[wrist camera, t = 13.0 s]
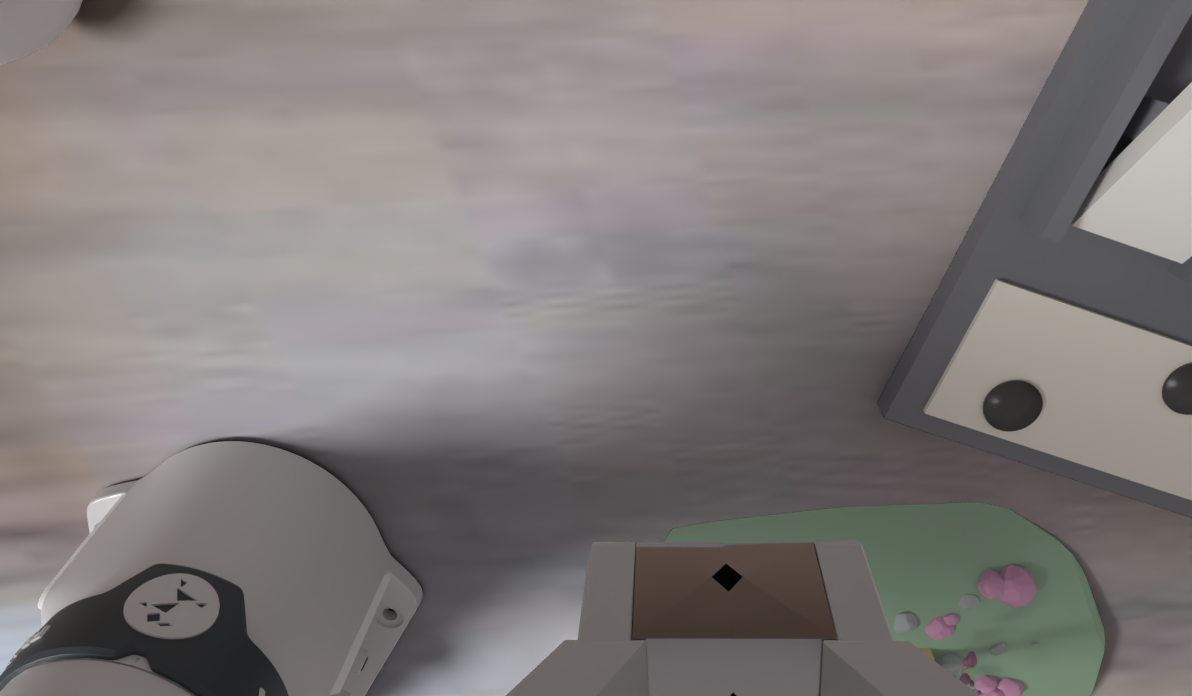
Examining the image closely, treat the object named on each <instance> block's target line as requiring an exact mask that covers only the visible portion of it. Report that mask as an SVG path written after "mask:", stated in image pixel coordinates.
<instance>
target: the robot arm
mask: <svg viewBox="0 0 1192 696" xmlns="http://www.w3.org/2000/svg"><path fill="white" fill-rule="evenodd" d="M87 519H88V525H89V531H90V535H89V536H88V537H87V538H86V539H85V541H84V542H83V543H82V544H81V546H80V547H79V548H78V549H77V550H76V552H75V553H74V554H73V555H72V557H71V558H70V559H69V560H68V562H67V563H66V564H65V565H64V566H63V568H62V569H61V570H60V571H59V573H58V574H57V575H56V576H55V578H54V579H53V580H52V581H51V583H50V584H49V585H48V586H47V588H46V589H45V590H44V592H43V593H42V595H41V597H40V599H39V602H38V607H39V609H40V610H41V624H42V628H41V629H40V630H39V631H38V632H36V633H35V634H34V635H33V636H32V637H30V638H29V639H28V640H27V641H26V642H25V643H24V644H23V646H22V647H21V648H20V649H19V650H18V651H17V653H16V654H15V655H14V656H13V658H12V659H11V660H10V662H9V663H8V664H9V665H8V666H7V667H6V669H5V671H4V672H3V673H2V674H1V676H0V696H365V695H366V693H367V691H368V690H369V688H370V686H371V685H372V683H373V681H374V680H375V678H376V676H377V675H378V673H379V671H380V670H381V668H382V667H383V665H384V663H385V662H386V660H387V658H388V657H389V655H390V653H391V652H392V650H393V648H394V647H395V645H396V643H397V642H398V640H399V638H400V637H401V635H402V633H403V632H404V630H405V629H406V627H407V625H408V624H409V622H410V620H411V619H412V617H413V615H414V614H415V612H416V610H417V608H418V606H419V605H420V603H421V601H422V597H423V592H422V589H421V586H420V585H419V583H418V582H417V581H416V579H415V578H414V577H413V576H412V575H411V574H410V573H409V572H408V571H407V570H406V569H405V568H404V567H403V566H402V565H401V564H400V563H399V562H397V561H396V560H395V559H394V558H393V557H392V556H391V554H390V553H389V551H388V550H387V548H386V546H385V544H384V542H383V540H382V537H381V535H380V533H379V531H378V529H377V526H376V524H375V523H374V521H373V519H372V517H371V516H370V514H369V513H368V511H367V510H366V508H365V507H364V506H363V504H362V503H361V502H360V501H359V499H358V498H357V497H356V496H355V495H354V494H353V493H352V492H351V491H350V490H349V489H348V488H347V487H346V486H345V485H344V484H343V483H342V482H340V481H339V480H338V479H337V478H335V477H334V476H333V475H331V474H330V473H329V472H327V471H326V470H324V469H323V468H321V467H319V466H318V465H316V464H314V463H312V462H311V461H309V460H307V459H305V458H303V457H300V456H298V455H296V454H293V453H291V452H288V451H285V450H282V449H279V448H276V447H272V446H268V445H263V444H258V443H252V442H241V441H223V442H213V443H207V444H202V445H198V446H194V447H191V448H189V449H186V450H184V451H181V452H179V453H177V454H175V455H173V456H172V457H170V458H168V459H167V460H166V461H164V462H163V463H162V464H160V465H159V466H158V467H157V468H155V469H154V470H153V471H152V472H151V473H149V474H148V475H146V476H145V477H143V478H141V479H139V480H136V481H131V482H126V483H122V484H117V485H113V486H110V487H107V488H105V489H103V490H101V491H100V492H98V493H97V495H96V496H95V497H94V499H93V500H92V501H91V502H90V504H89V505H88V508H87ZM388 609H393V610H395V611H396V612H393V611H390V610H388ZM506 696H980V695H978V694H977V693H976V692H974V691H973V690H972V689H970V688H969V687H968V686H967V685H965V684H964V683H963V682H961V681H960V680H959V679H957V678H956V677H955V676H953V675H952V674H951V673H950V672H948V671H947V670H946V669H944V668H943V667H942V666H940V665H939V664H938V663H936V662H935V661H934V660H933V659H931V658H930V657H929V656H927V655H926V654H925V653H923V652H922V651H921V650H919V649H918V648H917V647H916V646H914V645H913V644H912V643H910V642H909V641H894V639H893V636H892V633H891V630H890V627H889V624H888V621H887V618H886V615H885V612H884V609H883V606H882V603H881V600H880V597H879V594H878V591H877V588H876V585H875V582H874V579H873V576H872V573H871V570H870V567H869V564H868V561H867V558H866V555H865V552H864V549H863V546H862V544H861V543H860V542H859V541H858V540H857V539H849V540H822V541H812V542H807V543H731V544H724V543H700V542H637V545H636V543H634V542H593V543H592V545H591V547H590V549H589V556H588V564H587V571H586V579H585V587H584V595H583V603H582V610H581V618H580V626H579V634H578V640H565V641H563V642H562V643H561V644H560V645H559V646H558V647H557V648H556V649H555V650H554V651H553V652H552V653H551V654H550V655H549V656H548V657H547V658H545V659H544V660H543V661H542V662H541V663H540V664H539V665H538V666H537V667H536V668H535V669H534V670H533V671H532V672H531V673H530V674H528V675H527V676H526V677H525V678H524V679H523V680H522V681H521V682H520V683H519V684H518V685H517V686H516V687H515V688H514V689H513V690H512V691H510V692H509V693H508V694H507V695H506Z"/></svg>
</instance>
